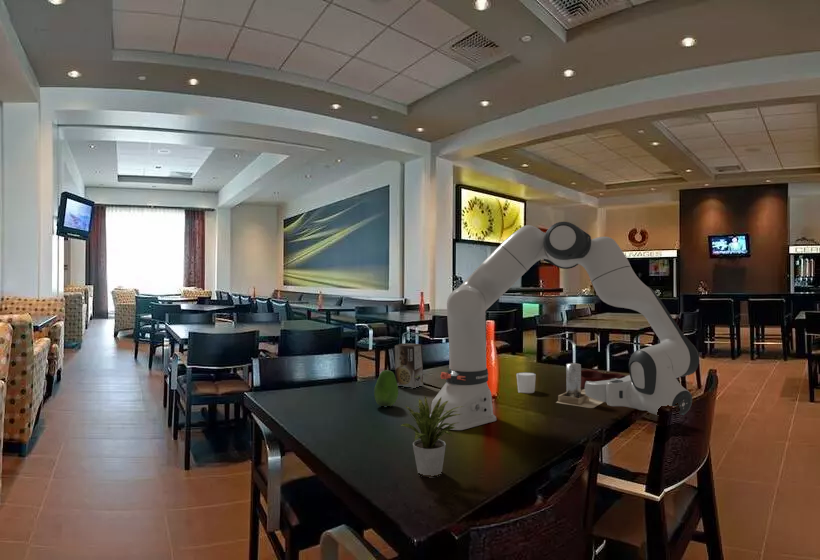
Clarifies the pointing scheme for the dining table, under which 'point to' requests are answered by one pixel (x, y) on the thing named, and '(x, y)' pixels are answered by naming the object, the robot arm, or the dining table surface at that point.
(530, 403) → the dining table surface
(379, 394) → the avocado
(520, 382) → the white cup
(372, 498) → the dining table surface
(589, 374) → the ashtray
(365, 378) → the dining table surface
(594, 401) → the rail board
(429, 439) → the house plant
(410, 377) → the coffee box
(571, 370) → the peg
